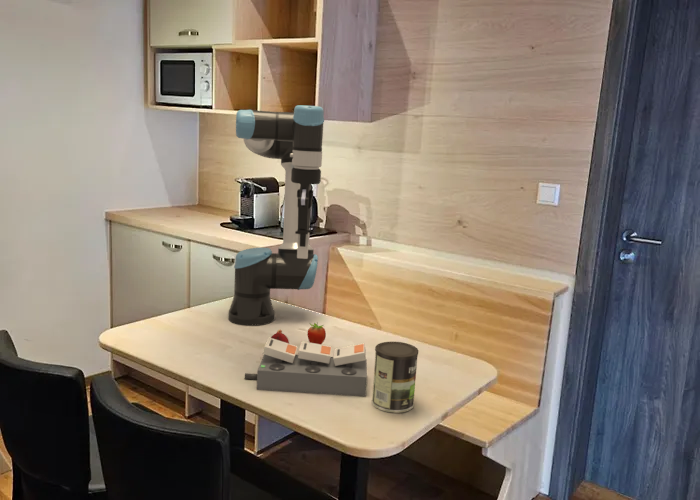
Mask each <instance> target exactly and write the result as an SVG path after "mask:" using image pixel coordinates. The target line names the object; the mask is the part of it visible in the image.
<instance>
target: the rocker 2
mask: <svg viewBox="0 0 700 500" xmlns="http://www.w3.org/2000/svg"><path fill="white" fill-rule="evenodd" d="M298 350H299V351H298V354H297V355H298V358H300V359H306V360H312V361H317V362H323V363H329V361H330V357H332V356H331V355H332V354H331V353H332V346H331V345H327V344H315V343H310V342H309V341H305V340H304V341H302V340H301V342H300V346H299V349H298Z"/></svg>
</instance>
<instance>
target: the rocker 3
mask: <svg viewBox="0 0 700 500" xmlns="http://www.w3.org/2000/svg"><path fill="white" fill-rule="evenodd" d="M333 357H334V358H333V359H334V364H335V366H337V365H343V364H348V363H353V362H359V361H364V360H366V359H367V349H366V345H365V343H364V342H363V343H362V342H361V343H359V344H358V343H357V344H351V345H347V346H341V347H336V348H334V350H333Z"/></svg>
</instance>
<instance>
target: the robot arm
mask: <svg viewBox="0 0 700 500" xmlns="http://www.w3.org/2000/svg"><path fill="white" fill-rule="evenodd" d="M324 112H325V111H324V108H323V107H322V106H319V105H318V106H317V105H295V107H294V110H293V112H288V111H270V110H269V111H268V110H256V109H255V110H253V109H239V110H238V111H237V112H236V115H235V116H236V117H235V135H236V137H237V138H238V139H243V142H244V145H245V147H246V148H247V149H248V150H249V151H250V152H252V153H253V154H255V155H258V156H260V157H264V158H268V159H273V160H280V166H281V167H282V168H283V169H284V172H285V174H284V175H285V177H284V178H285V179H284V205H283V208H284V209H283V211H284V212H283V232H282V233H283V236H282V237H283V238H282V243H281V245H279V247H278V249H277V251H278V252H277V253H276V252H275V253H274V252H273V251H272V249H271V248H269V247H252V248H245V249H243V250H240V251H238V252H237V254H236V255H235V257H234V258H235V260H234V267H233V268H234V287H233V288H234V291H233V293H234V295H233V297H232V301H231V303H230V307H229V309H228V312H227V313H228V314H227V316H228V317H227V318H228V320H229V321H230V322H231V323H233V324H236V325H241V326H262V325H267V324H270V323H272V322H274V321H275V317H276V316H275V315H276V314H275V313H276V312H275V309H274V305H273V303H272V299H271V290H274V289H275V290H297V291H300V290H310V289H311V288H312V287H313V286H314V284H315V282H316V281H315V279H316V276H317V271H318V260H319V255H317V254H316V253H314V251H315V250H314V248H313V247H312V245H310V234H311V233H312V229H310V228H311V225H310V224H311V207H312V206H313V197H314V189H312V185H318V184H320V183H321V177H322V176H321V175H322V170H321V169H320V168H321V167H322V163H323V139H324V138H323V137H324V136H323V135H324V123H325V117H324V115H325V113H324Z"/></svg>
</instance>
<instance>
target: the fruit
mask: <svg viewBox="0 0 700 500" xmlns="http://www.w3.org/2000/svg"><path fill="white" fill-rule="evenodd" d="M309 325H310V326H311V327H309V329H308V330H307V339H308V342H310V343H315V344H321V345H323V343H324V342H325V340H326V336H327V333H326V329H325V328H324V324H322V325H321V324H320V325H319V324H318V323H317V322H314V323H313V324H312V323H309Z"/></svg>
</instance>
